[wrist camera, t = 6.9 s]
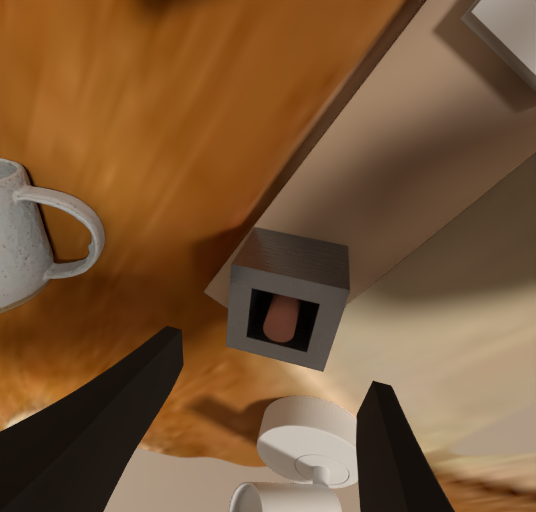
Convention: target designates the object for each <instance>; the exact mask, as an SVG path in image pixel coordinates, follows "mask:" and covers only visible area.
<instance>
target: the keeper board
mask: <svg viewBox="0 0 536 512" xmlns="http://www.w3.org/2000/svg"><path fill="white" fill-rule="evenodd" d="M535 152H536V0H425V2H424V3H423V4H422V6H421V7H420V8H419V10H418V11H417V12H416V14H415V15H414V16H413V18H412V19H411V20H410V21H409V23H408V24H407V25H406V27H405V28H404V29H403V31H402V32H401V33H400V35H399V36H398V37H397V38H396V40H395V41H394V42H393V44H392V45H391V46H390V48H389V49H388V50H387V52H386V53H385V54H384V55H383V57H382V58H381V59H380V61H379V62H378V63H377V65H376V66H375V67H374V69H373V70H372V71H371V73H370V74H369V75H368V76H367V78H366V79H365V80H364V82H363V83H362V84H361V86H360V87H359V88H358V90H357V91H356V92H355V93H354V95H353V96H352V97H351V99H350V100H349V101H348V103H347V104H346V105H345V107H344V108H343V109H342V110H341V112H340V113H339V114H338V116H337V117H336V118H335V120H334V121H333V122H332V124H331V125H330V126H329V128H328V129H327V130H326V131H325V133H324V134H323V135H322V137H321V138H320V139H319V141H318V142H317V143H316V145H315V146H314V147H313V148H312V150H311V151H310V152H309V154H308V155H307V156H306V158H305V159H304V160H303V162H302V163H301V164H300V165H299V167H298V168H297V169H296V171H295V172H294V173H293V175H292V176H291V177H290V179H289V180H288V181H287V183H286V184H285V185H284V186H283V188H282V189H281V190H280V192H279V193H278V194H277V196H276V197H275V198H274V200H273V201H272V202H271V203H270V205H269V206H268V207H267V209H266V210H265V211H264V213H263V214H262V215H261V217H260V218H259V219H258V220H257V222H256V223H255V224H254V226H253V227H252V228H251V230H250V231H249V232H248V234H247V235H246V236H245V238H244V239H243V240H242V241H241V243H240V244H239V245H238V247H237V248H236V249H235V251H234V252H233V253H232V255H231V256H230V257H229V258H228V260H227V261H226V262H225V264H224V265H223V266H222V268H221V269H220V270H219V272H218V273H217V274H216V275H215V277H214V278H213V279H212V281H211V282H210V283H209V285H208V286H207V288H206V289H205V291H204V293H205V294H207V295H208V296H210V297H211V298H213V299H214V300H215V301H217V302H218V303H220V304H221V305H223V306H224V307H225V308H227V309H228V306H229V290H230V274H231V263H232V262H233V260H234V259H235V257H236V256H237V254H238V253H239V251H240V249H241V248H242V246H243V245H244V243H245V242H246V240H247V239H248V237H249V236H250V234H251V233H252V231H253V229H254V228H255V227H258V228H263V229H268V230H273V231H278V232H283V233H288V234H292V235H297V236H302V237H307V238H312V239H317V240H322V241H327V242H332V243H336V244H341V245H346V246H348V254H349V275H350V293H349V296H348V299H347V302H346V305H347V304H348V303H350V302H351V301H352V300H353V299H354V298H356V297H357V296H358V295H359V294H361V293H362V292H363V291H364V290H366V289H367V288H368V287H369V286H371V285H372V284H373V283H374V282H376V281H377V280H378V279H379V278H380V277H382V276H383V275H384V274H385V273H387V272H388V271H389V270H390V269H392V268H393V267H394V266H395V265H397V264H398V263H399V262H400V261H402V260H403V259H404V258H405V257H406V256H408V255H409V254H410V253H411V252H413V251H414V250H415V249H416V248H418V247H419V246H420V245H421V244H423V243H424V242H425V241H426V240H428V239H429V238H430V237H431V236H432V235H434V234H435V233H436V232H437V231H439V230H440V229H441V228H442V227H444V226H445V225H446V224H447V223H449V222H450V221H451V220H452V219H454V218H455V217H456V216H457V215H459V214H460V213H461V212H462V211H463V210H465V209H466V208H467V207H468V206H470V205H471V204H472V203H473V202H475V201H476V200H477V199H478V198H480V197H481V196H482V195H483V194H485V193H486V192H487V191H488V190H489V189H491V188H492V187H493V186H494V185H496V184H497V183H498V182H499V181H501V180H502V179H503V178H504V177H506V176H507V175H508V174H509V173H511V172H512V171H513V170H514V169H515V168H517V167H518V166H519V165H520V164H522V163H523V162H524V161H525V160H527V159H528V158H529V157H530V156H532V155H533V154H534V153H535ZM300 302H301V299H297V298H292V297H288V296H284V295H280V294H275V293H274V296H273V299H272V302H271V305H270V308H269V311H268V314H267V317H266V320H265V323H264V326H263V330H264V333H265V335H266V336H267V337H268V338H270V339H271V340H273V341H276V342H287V341H289V340H291V339H292V338H293V336H294V333H295V327H296V322H297V317H298V312H299V307H300ZM346 305H345V306H346Z"/></svg>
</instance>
